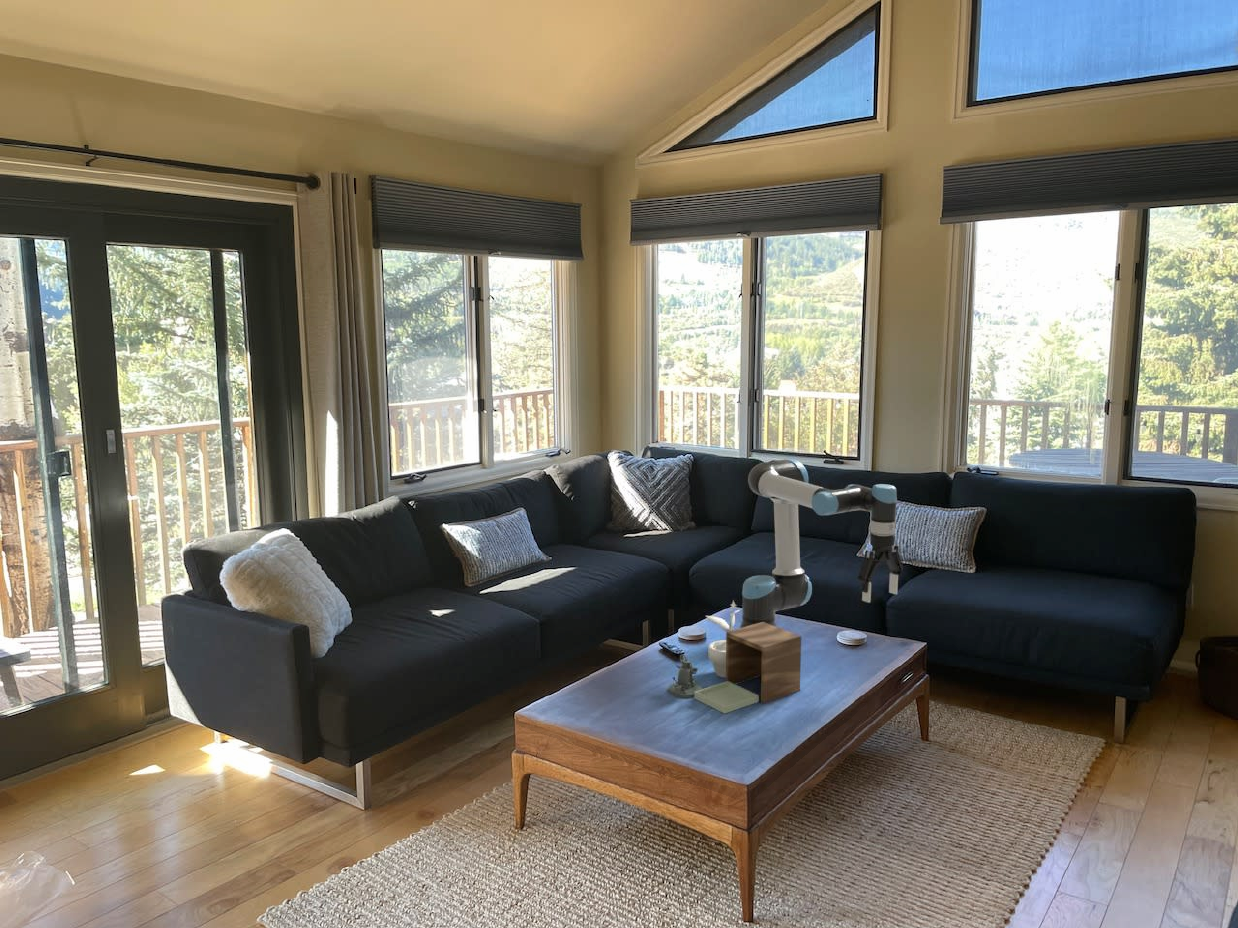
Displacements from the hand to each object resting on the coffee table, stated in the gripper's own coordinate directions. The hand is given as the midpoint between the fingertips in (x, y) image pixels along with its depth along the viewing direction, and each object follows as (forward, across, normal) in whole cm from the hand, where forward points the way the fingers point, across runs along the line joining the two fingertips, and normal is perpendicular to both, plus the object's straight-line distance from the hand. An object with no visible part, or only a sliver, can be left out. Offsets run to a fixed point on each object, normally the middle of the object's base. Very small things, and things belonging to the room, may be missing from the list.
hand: (879, 597), depth 309 cm
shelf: (+27, -36, +16) cm, 48 cm away
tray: (+27, -52, +16) cm, 61 cm away
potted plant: (+27, -38, +32) cm, 57 cm away
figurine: (+27, -57, +30) cm, 70 cm away
